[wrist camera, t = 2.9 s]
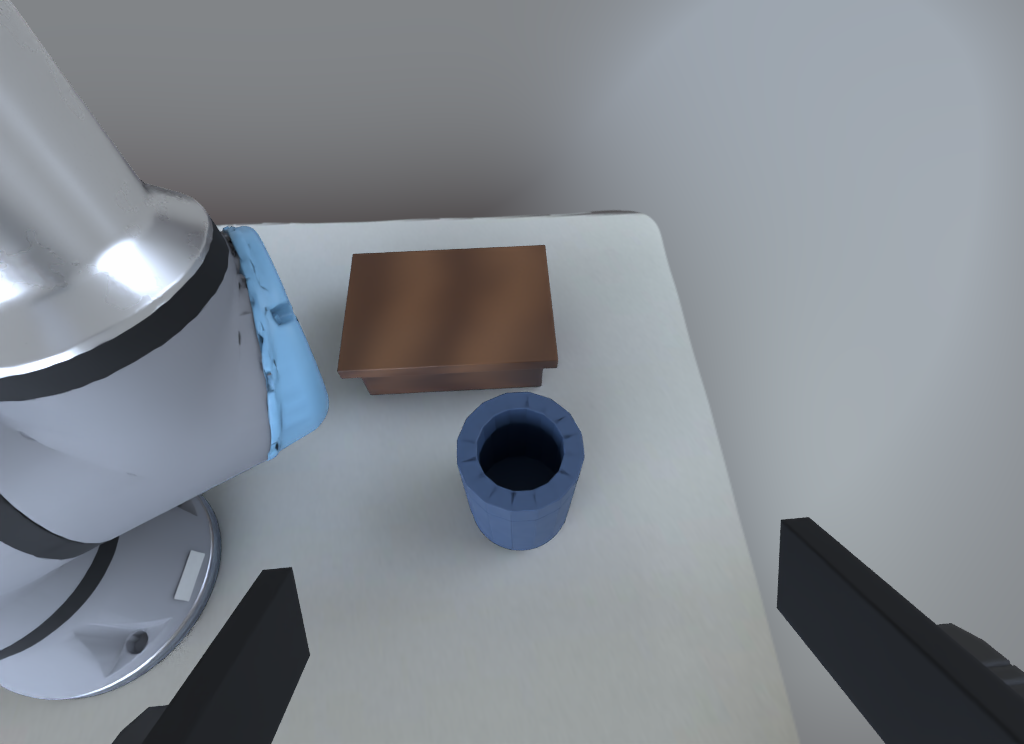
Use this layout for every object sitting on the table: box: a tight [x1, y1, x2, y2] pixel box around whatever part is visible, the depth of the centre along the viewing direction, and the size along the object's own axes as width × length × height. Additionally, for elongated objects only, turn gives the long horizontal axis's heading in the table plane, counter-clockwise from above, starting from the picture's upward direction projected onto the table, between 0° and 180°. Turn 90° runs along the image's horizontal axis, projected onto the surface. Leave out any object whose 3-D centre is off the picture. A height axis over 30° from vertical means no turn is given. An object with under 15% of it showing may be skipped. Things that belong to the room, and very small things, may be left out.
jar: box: [457, 392, 584, 550], centre depth 36 cm, size 8×8×11 cm
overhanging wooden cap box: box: [337, 245, 558, 395], centre depth 46 cm, size 17×12×6 cm
